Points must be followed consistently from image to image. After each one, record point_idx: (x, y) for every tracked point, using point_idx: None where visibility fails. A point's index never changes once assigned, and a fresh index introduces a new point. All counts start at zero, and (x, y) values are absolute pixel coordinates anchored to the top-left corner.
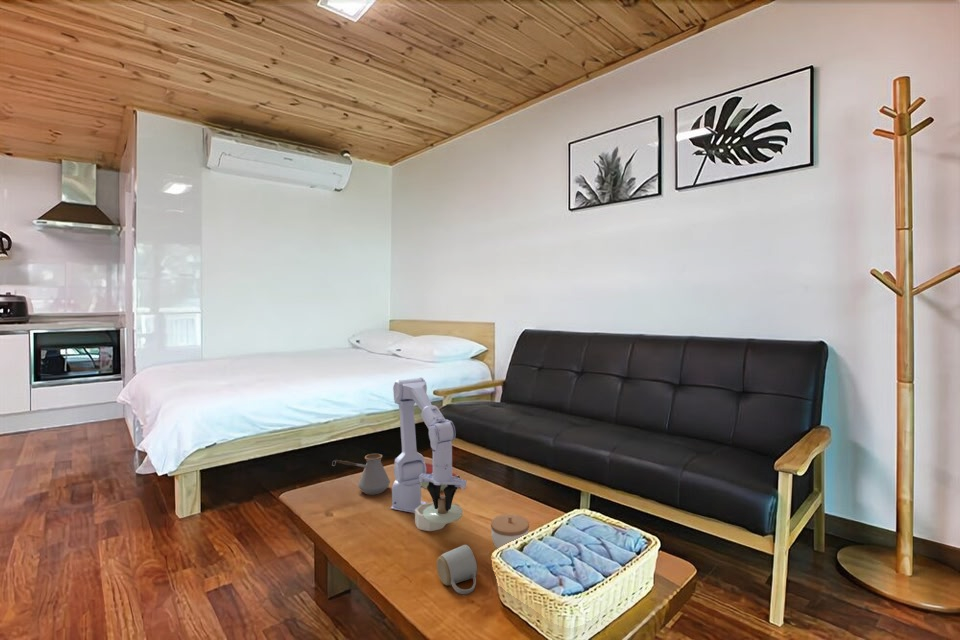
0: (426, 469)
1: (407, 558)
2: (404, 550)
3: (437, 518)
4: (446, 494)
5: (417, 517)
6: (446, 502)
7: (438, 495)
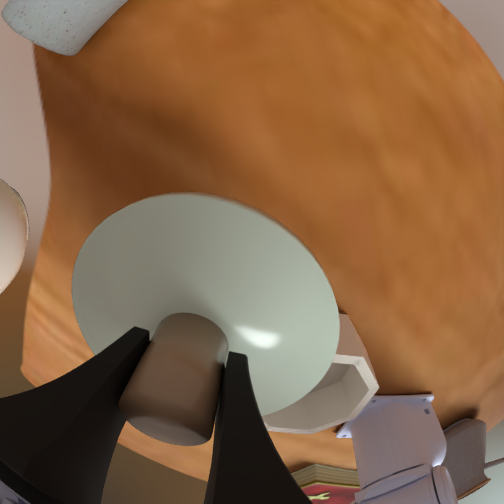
0: (342, 499)
1: (340, 72)
2: (374, 136)
3: (191, 239)
4: (41, 418)
5: (363, 352)
6: (103, 368)
7: (214, 453)
